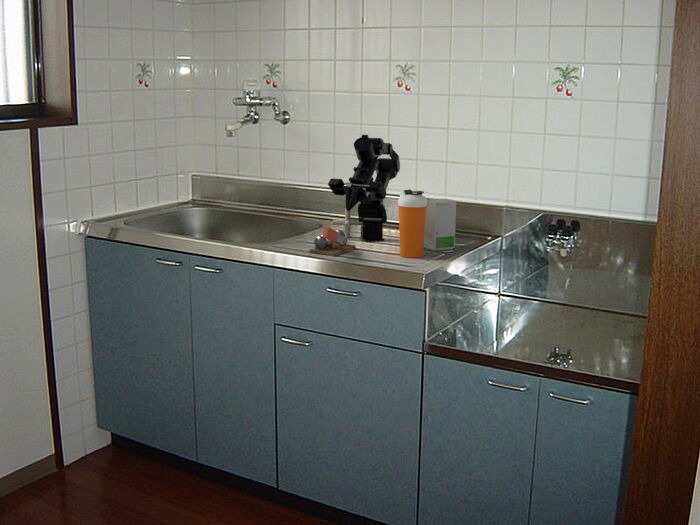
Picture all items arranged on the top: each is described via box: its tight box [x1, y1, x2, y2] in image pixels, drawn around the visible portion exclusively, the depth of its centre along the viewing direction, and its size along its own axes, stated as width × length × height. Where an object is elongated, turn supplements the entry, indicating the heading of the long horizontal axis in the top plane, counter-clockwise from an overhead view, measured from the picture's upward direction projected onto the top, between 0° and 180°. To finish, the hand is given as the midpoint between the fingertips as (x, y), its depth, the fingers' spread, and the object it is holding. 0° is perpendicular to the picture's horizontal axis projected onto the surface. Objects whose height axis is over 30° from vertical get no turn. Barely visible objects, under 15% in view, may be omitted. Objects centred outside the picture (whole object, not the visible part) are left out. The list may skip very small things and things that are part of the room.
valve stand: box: [308, 229, 356, 257], centre depth 264 cm, size 13×9×6 cm
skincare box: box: [424, 198, 457, 251], centre depth 267 cm, size 8×7×16 cm
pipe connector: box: [332, 207, 362, 239], centre depth 284 cm, size 10×10×10 cm
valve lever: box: [322, 226, 348, 245], centre depth 257 cm, size 3×2×13 cm
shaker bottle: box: [397, 188, 427, 259], centre depth 256 cm, size 9×9×20 cm
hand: (347, 210), depth 262 cm, fingers closed
